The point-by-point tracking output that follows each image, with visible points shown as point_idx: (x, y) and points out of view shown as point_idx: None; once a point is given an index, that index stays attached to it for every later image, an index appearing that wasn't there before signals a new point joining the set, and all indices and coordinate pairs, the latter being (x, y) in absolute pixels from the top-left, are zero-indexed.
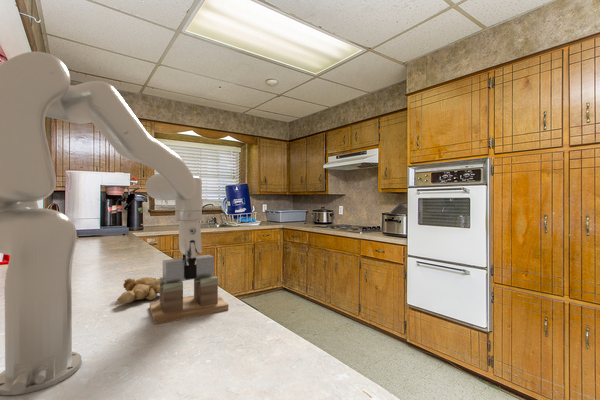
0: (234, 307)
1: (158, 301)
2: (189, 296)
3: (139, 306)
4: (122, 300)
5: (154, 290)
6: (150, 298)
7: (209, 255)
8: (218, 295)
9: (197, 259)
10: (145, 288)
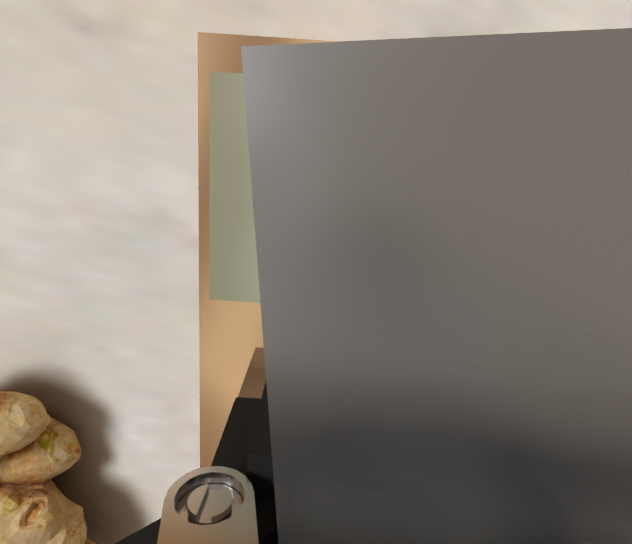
0: (547, 3)
1: (202, 441)
2: (206, 255)
3: (154, 498)
4: None
5: (17, 453)
6: (80, 453)
7: (415, 95)
8: (311, 42)
9: (624, 519)
10: (32, 532)
